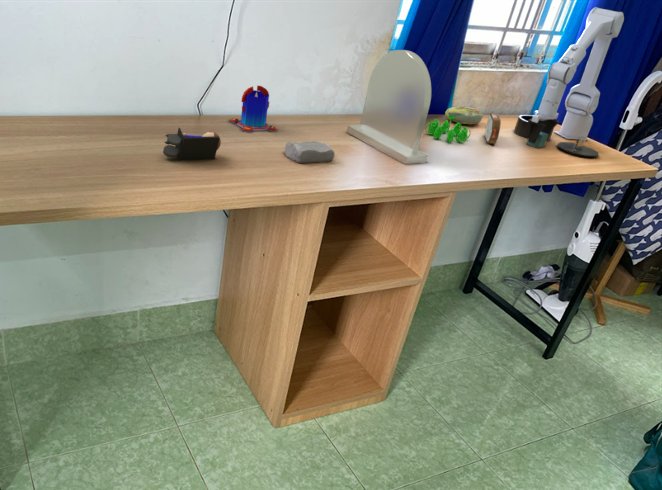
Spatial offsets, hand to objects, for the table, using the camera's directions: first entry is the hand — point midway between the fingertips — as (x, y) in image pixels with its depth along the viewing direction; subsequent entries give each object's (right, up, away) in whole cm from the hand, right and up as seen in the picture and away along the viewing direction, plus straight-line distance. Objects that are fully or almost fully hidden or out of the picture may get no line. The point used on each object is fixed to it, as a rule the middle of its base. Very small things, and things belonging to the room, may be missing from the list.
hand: (536, 141), depth 210 cm
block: (0, -1, +1) cm, 2 cm away
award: (-56, -8, -24) cm, 61 cm away
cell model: (-21, +11, +15) cm, 28 cm away
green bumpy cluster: (-33, 0, -6) cm, 33 cm away
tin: (-17, 0, -2) cm, 17 cm away
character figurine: (-110, -18, -54) cm, 124 cm away
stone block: (-80, -15, -41) cm, 92 cm away
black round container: (+3, +5, +12) cm, 14 cm away
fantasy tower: (-96, -2, -23) cm, 99 cm away
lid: (+14, -3, +1) cm, 15 cm away
